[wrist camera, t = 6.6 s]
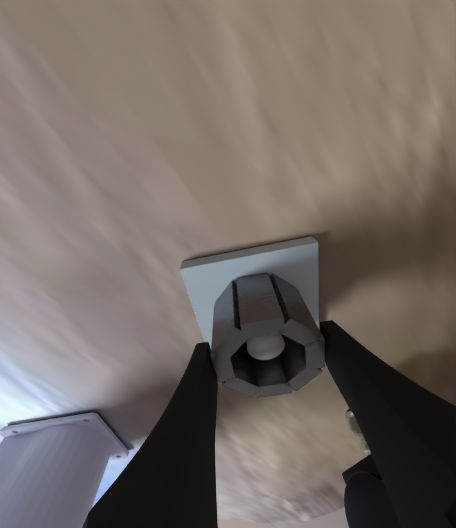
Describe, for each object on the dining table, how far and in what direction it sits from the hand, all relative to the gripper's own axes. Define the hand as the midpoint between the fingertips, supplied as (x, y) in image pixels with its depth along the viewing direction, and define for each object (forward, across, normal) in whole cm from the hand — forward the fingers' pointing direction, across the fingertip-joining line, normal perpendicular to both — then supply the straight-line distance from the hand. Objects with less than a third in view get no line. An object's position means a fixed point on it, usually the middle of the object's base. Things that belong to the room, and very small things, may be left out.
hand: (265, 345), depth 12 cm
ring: (+3, 0, 0) cm, 3 cm away
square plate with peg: (+4, 0, 0) cm, 4 cm away
